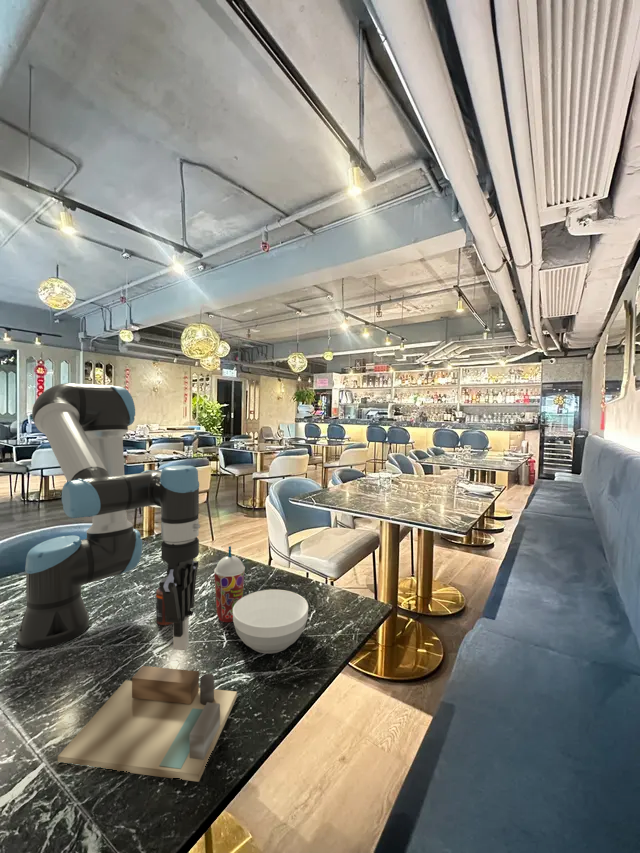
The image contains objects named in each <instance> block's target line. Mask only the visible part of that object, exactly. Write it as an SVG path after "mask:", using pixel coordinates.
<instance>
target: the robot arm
mask: <svg viewBox="0 0 640 853" xmlns="http://www.w3.org/2000/svg"><path fill="white" fill-rule="evenodd" d="M135 416H136V407H135V402H134V398H133V396H132V394H131V393H130V392H129V390H128V389H126V388H125V387H122V386H118V385H117V386H116V385H112V384H111V385H110V384H90V383H89V384H86V383H71V382H70V383H69V382H68V383H60V384H57V385H53V386H51V387H49V388H48V389H46V390H44V391H43V392H42V393H40V395H38V397H37V398H36V400H35V402H34V404H33V406H32V413H31V417H32V421H33V423H34V426H35V427H36V429H37V430H38V431H39V432H40V433H42V434H44V435H45V437H46V439H47V441H48V444H49V446H50V447H51V450H52V452H53V454H54V456H55V458H56V460H57V462H58V465H59V467H60V468H61V471H62V473H63V475H64V478H65V480H66V481H67V482H65V483H64V484H63V486H62V490H61V504H62V508H63V512H64V514H65V515H66V516H67V517H69V519H79V518H90V517H92V518H91V520H92V523H91V526H90V527H89V528H88V529H87V530H86V538H84V539H81V537H80V536H78V535H74V534H71V535H63V536H62V535H61V536H57V537H53V538H49V539H47V540H45V541H42V542H40V543H37V544H36V545H35V546H33V547H32V548H30V550H28V552H27V554H26V559H25V567H24V568H25V569H24V573H25V582H26V583H25V588H26V590H25V592H26V593H25V594H26V596H25V598H26V609H25V611H24V614H23V616H22V619H21V623H20V626H19V627H18V628H19V629H18V631H17V643H18V644H19V645H20V646H21V647H23V648H26V649H43V648H49V647H54V646H57V645H60V644H63V643H66V642H68V641H71V640H73V639H75V638H76V637H78V636H80V635H81V634H82V633H84V632H85V631H86V630H87V629H88V627H89V625H90V614H89V611H88V610H87V609H86V606H85V602H84V600H83V597H82V586H83V585H86V584H90V583H95V582H97V581H100V580H104V579H107V578H112V577H115V576H120V575H123V574H125V573H128V572H131V571H133V570H134V569H135V568H137V566H138V564H139V563H140V561H141V560H142V559H141V558H142V554H143V539H142V534H141V532H140V531H139V530H138V529H137V528H134V524H133V523H132V522H131V521H129V520H128V519H127V518H128V517H127V516H128V514H127V511H129V510H134V509H135V510H136V509H140V508H146V507H153V506H155V507H160V509H161V510H160V511H161V512H160V513H161V516H160V520H161V524H160V525H161V526H160V527H161V530H160V531H161V533H160V539H161V540H162V542H161V544H160V545H161V550H160V551H161V559H162V561H164V562H166V563H167V568H166V576H167V577H168V578H167V577H166V578H167V580H166V582H161V584H160V583H159V587H160V589H161V590H162V592H163V598H164V605H165V611H166V618H167V622H170V623H173V624H172V625H173V627H172V628H173V630H172V631H173V632H172V634H173V638H172V640H173V650H175V651H187V649H188V648H189V646H190V642H189V640H190V638H189V634H190V633H189V632H190V631H189V630H190V627H189V626H190V625H189V619H190V618H189V616H193V615H194V610H191V609H193V608H194V605H195V595H196V585H197V574H198V573H197V572H198V567H199V565H200V564H199V561H198V560H194V559H196V558H197V557H198V556H199V554H200V540H199V538H198V536H199V532H200V531H199V529H201V524H200V522H199V513H200V511H199V508H200V506H199V505H200V503H199V502H200V481H199V469H197V467H196V466H193V465H184V464H183V465H170V466H166V467H163V468H162V470H159V469H147V470H144V471H142V472H140V473H132V474H131V473H130V474H125V460H124V459H125V458H124V444H123V443H124V440H123V438H124V436H125V434H127V433H128V431H129V427H130V426H131V425H132V424H134V422H135Z"/></svg>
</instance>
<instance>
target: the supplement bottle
mask: <svg viewBox="0 0 640 853" xmlns="http://www.w3.org/2000/svg"><path fill="white" fill-rule="evenodd" d="M167 578H168V576H167V577H163V578H162V579H160V580H159V585H160V584H161V582H166V580H167ZM155 617H156V618H155V619H156V620H155V621H156V624H158V625H160V626H169V625H173V623H170V622H167V618H166V611H165V605H164V598H163V592H162V590H161V589H160V586H159V587H158V588H157V589H156V592H155Z"/></svg>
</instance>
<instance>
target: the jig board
mask: <svg viewBox="0 0 640 853" xmlns="http://www.w3.org/2000/svg"><path fill="white" fill-rule="evenodd" d="M237 698H238V691H233V690H226V689H215V675H214V674H212V673H205V674H203V675H202V676H201V677H199V691H198V693H197V695H196V696H195V698H194V700H193V701H192V703H191V704H185V703H175V702H166V701H157V700H147V699H138V698H132V680H129V679H127V680H124V681H123V682H122V684H121V685H120V686H119V687H118V688H117V689H116V690H115V691H114V692H113V694H112V695H111V696H110V697H109V698H108V699H107V701H105V703H103V705H102V706H101V707H100V708H99V710H98V711H97V712H95V714H94V715H93V716H92V717H91V718H90V720H89V721H87V722H86V723H85V725H84V726H83V727H82V728H81V730H80V731H78V733H77V734H76V735H75V736H74V737H73V738H72V739H71V741H69V743H68V744H67V745H66V746H65V748H64V749H62V751H61V752H60V753H59V754H58V755H57V763H58V762H64V763H73V764H80V765H89V766H94V767H101V768H106V769H113V770H117V771H116V772H120V771H124V772H123V773H128V772H130V773H129V774H136V775H143V776H144V775H145V776H153V777H157V778H158V777H160V778H166V779H167V778H168V779H173V778H180V779H179V780H181V779H182V780H183V781H190V782H197V783H198V782H200V780H201V779H202V775H203V774H204V772H205V769H206V767H207V765H206V764H208V763H209V760H210V758H211V756H212V754H213V752H214V749H215V747H216V745H217V743H218V741H219V738H220V736H221V734H222V731H223V729H224V727H225V725H226V724H227V720H228V718H229V716H230V714H231V711H232V709H233V707H234V704H235V703H236V700H237ZM212 751H213V752H212ZM211 753H212V754H211ZM210 755H211V756H210ZM209 757H210V758H209ZM208 759H209V760H208ZM207 762H208V763H207ZM205 766H206V767H205ZM126 771H127V772H126Z"/></svg>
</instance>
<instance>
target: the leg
mask: <svg viewBox="0 0 640 853" xmlns="http://www.w3.org/2000/svg"><path fill="white" fill-rule="evenodd" d="M131 681H132V698H138V699H147V700H157V701H166V702H175V703H185V704H191V703H192V701H193V700H194V698H195V696H196V695H197V693H198V691H199V688H200V671H199V670H191V669H190V670H189V669H181V668H180V669H177V668H168V667H160V666H159V667H158V666H149V665H148V666H147V665H142V666H141V667H140V668H139V669H138V671H136V673H135V674H134V675H133V676H132V677H131Z"/></svg>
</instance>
